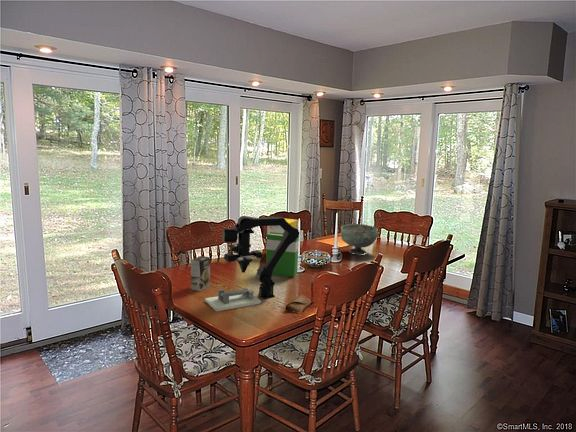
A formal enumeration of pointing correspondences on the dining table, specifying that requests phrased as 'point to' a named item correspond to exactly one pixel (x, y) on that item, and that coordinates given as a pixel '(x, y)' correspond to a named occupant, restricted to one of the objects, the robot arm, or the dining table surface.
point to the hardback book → (288, 259)
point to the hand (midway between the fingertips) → (243, 272)
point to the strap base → (232, 301)
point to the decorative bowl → (358, 236)
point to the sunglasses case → (298, 304)
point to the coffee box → (200, 273)
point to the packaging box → (279, 229)
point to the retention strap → (236, 292)
